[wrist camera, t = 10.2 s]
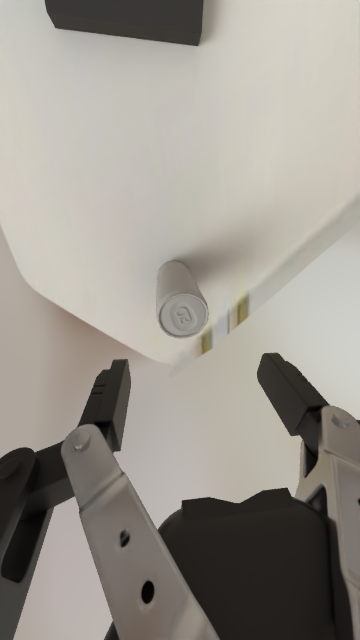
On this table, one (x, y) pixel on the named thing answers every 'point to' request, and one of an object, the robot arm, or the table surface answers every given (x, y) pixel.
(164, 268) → the beverage can
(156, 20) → the scale
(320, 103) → the table surface
